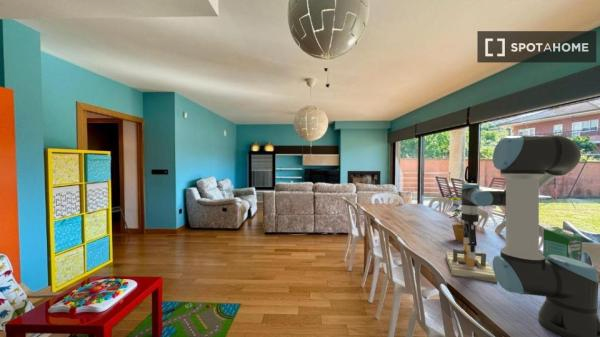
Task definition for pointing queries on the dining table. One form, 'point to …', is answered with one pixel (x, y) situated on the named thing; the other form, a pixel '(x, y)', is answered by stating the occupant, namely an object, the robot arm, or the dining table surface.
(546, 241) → the milk carton
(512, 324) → the dining table surface
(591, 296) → the robot arm
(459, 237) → the potted plant
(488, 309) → the dining table surface
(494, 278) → the beige open frame
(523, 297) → the dining table surface
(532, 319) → the dining table surface
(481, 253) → the gray u-shaped bracket
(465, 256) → the orange u-shaped bracket
